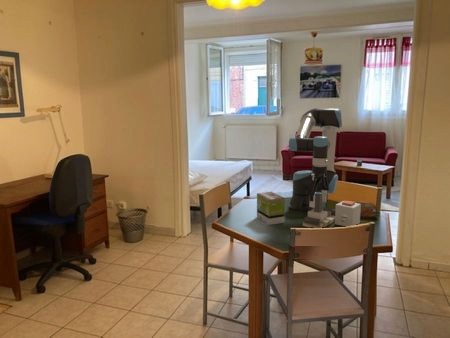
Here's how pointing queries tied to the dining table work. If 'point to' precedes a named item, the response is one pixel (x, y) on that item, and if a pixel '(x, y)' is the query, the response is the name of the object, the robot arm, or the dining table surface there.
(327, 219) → the rail board
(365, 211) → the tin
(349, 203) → the button
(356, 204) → the cabinet
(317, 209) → the grey white tall piece
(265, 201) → the tea box
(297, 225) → the dining table surface
